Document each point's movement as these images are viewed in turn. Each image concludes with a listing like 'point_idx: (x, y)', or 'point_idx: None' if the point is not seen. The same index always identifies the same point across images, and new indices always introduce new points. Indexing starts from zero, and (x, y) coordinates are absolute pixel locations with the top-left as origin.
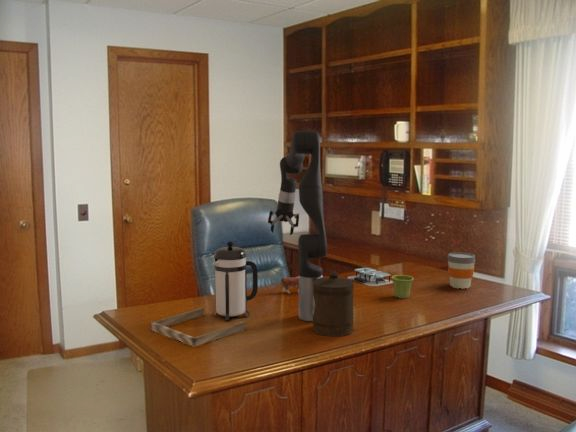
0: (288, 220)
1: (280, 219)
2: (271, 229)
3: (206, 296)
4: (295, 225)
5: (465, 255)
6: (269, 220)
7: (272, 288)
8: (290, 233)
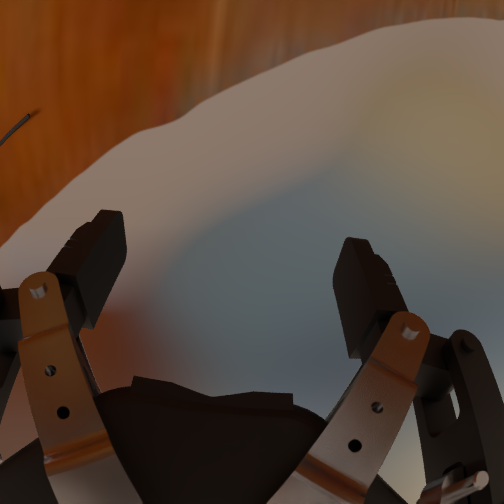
0: (75, 399)
1: (291, 431)
2: (381, 269)
3: (499, 15)
4: (6, 307)
5: None
6: (475, 368)
7: (268, 30)
8: (108, 219)
